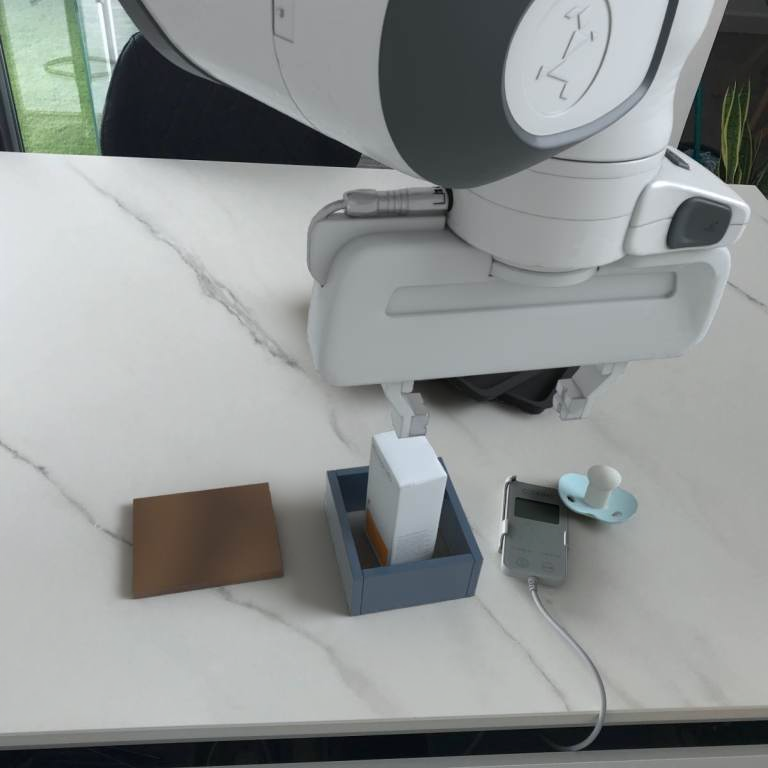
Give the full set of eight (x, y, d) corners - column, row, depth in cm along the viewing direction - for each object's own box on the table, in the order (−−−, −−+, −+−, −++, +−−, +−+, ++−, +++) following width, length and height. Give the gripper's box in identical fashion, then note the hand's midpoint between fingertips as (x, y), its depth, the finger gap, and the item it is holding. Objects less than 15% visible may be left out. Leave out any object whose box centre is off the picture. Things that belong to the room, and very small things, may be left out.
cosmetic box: (361, 530, 69) (370, 432, 62) (405, 518, 71) (419, 422, 63) (386, 584, 65) (398, 487, 57) (432, 571, 66) (450, 474, 59)
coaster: (134, 599, 62) (132, 592, 61) (134, 505, 69) (132, 498, 69) (283, 577, 65) (283, 569, 64) (268, 489, 72) (268, 481, 71)
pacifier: (562, 471, 77) (549, 512, 72) (577, 424, 73) (564, 463, 69) (636, 496, 75) (627, 539, 71) (655, 449, 71) (647, 491, 67)
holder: (350, 616, 62) (353, 579, 59) (324, 508, 71) (326, 470, 68) (474, 596, 65) (484, 559, 62) (435, 493, 73) (441, 456, 70)
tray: (593, 337, 95) (603, 302, 92) (557, 460, 78) (569, 422, 75) (366, 276, 102) (368, 241, 98) (287, 377, 85) (287, 339, 81)
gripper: (322, 228, 29) (312, 485, 38) (785, 210, 34) (681, 441, 42) (296, 159, 34) (292, 401, 42) (706, 151, 38) (627, 370, 47)
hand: (490, 421), depth 42 cm, fingers open, 8 cm apart
